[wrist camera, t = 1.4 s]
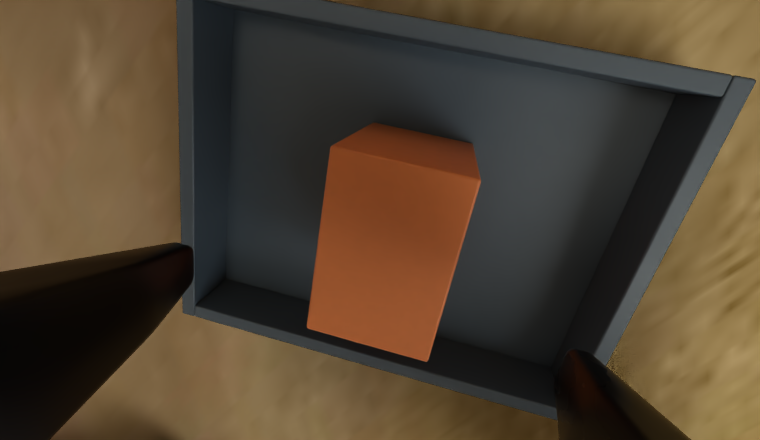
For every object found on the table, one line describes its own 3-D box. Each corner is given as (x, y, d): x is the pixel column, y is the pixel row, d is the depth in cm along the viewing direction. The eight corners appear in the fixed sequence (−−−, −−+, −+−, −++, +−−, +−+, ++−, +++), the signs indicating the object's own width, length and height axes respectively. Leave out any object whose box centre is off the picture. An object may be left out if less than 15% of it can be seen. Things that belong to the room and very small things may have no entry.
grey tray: (696, 78, 13) (758, 79, 10) (557, 373, 18) (574, 426, 15) (225, -9, 15) (175, -28, 12) (219, 281, 20) (182, 313, 17)
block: (473, 143, 15) (482, 179, 10) (436, 277, 17) (427, 363, 12) (372, 121, 15) (329, 145, 10) (349, 254, 17) (305, 329, 12)
